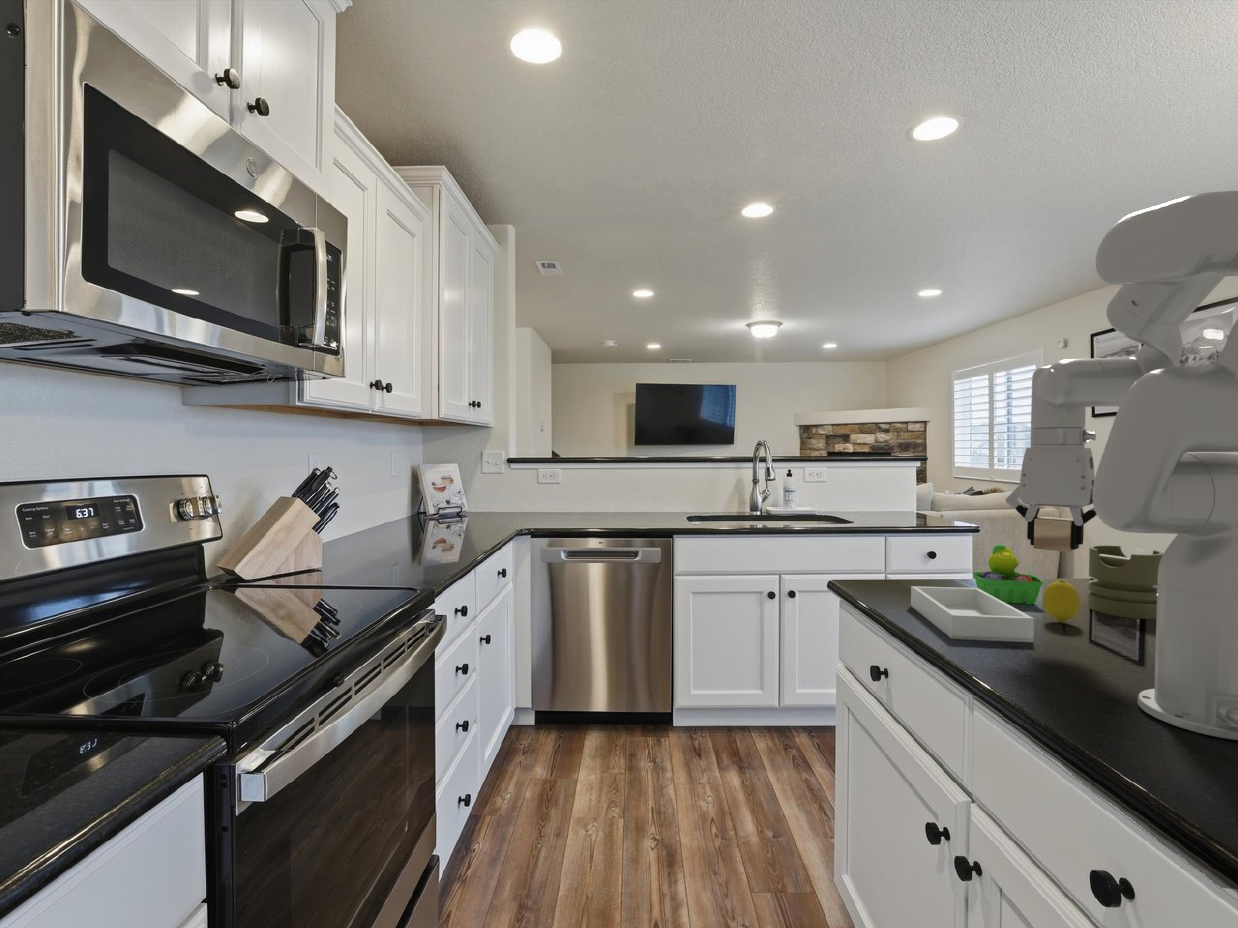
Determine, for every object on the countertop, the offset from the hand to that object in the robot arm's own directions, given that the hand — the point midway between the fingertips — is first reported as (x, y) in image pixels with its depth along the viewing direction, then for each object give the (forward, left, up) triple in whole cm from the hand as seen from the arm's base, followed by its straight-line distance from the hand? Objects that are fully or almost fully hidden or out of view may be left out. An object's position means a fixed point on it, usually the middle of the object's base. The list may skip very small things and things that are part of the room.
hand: (1054, 545), depth 107 cm
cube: (0, 0, -1) cm, 1 cm away
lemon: (+8, -6, -16) cm, 19 cm away
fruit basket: (+25, -4, -16) cm, 30 cm away
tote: (+6, +11, -16) cm, 20 cm away
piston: (+19, -23, -16) cm, 34 cm away
